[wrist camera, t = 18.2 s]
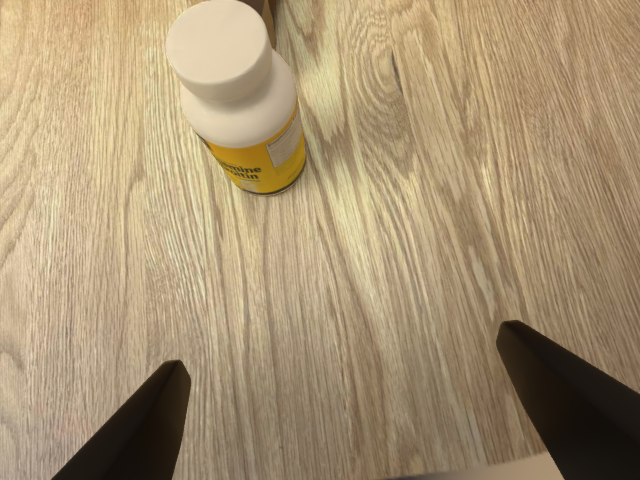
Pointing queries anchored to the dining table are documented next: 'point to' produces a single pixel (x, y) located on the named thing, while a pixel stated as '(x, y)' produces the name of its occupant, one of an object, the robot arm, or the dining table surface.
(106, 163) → the dining table surface
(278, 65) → the pill bottle
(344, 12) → the dining table surface
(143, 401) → the robot arm
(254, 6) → the walnut leg
